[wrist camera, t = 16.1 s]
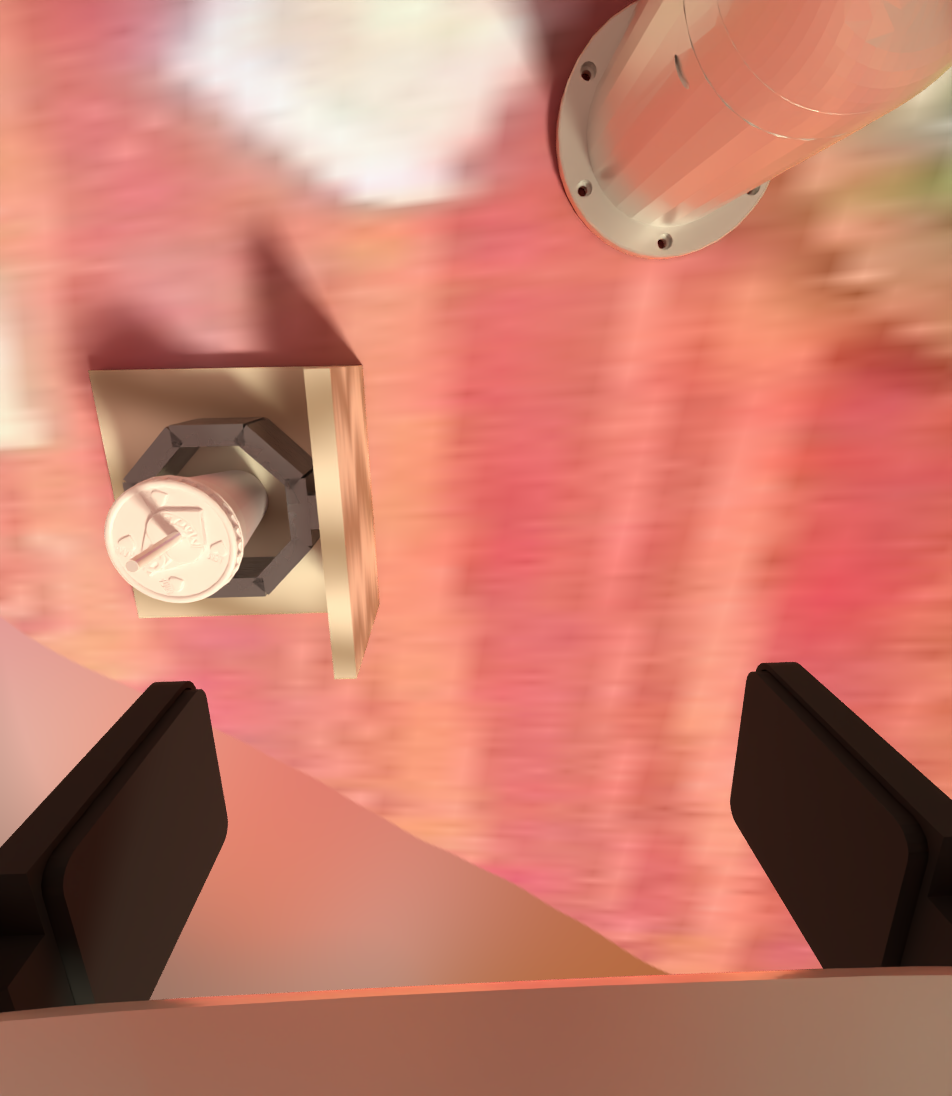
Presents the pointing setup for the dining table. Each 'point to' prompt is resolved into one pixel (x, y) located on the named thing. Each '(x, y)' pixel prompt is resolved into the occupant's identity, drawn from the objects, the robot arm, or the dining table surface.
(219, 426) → the holder
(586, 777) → the dining table surface
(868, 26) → the robot arm
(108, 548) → the smoothie
